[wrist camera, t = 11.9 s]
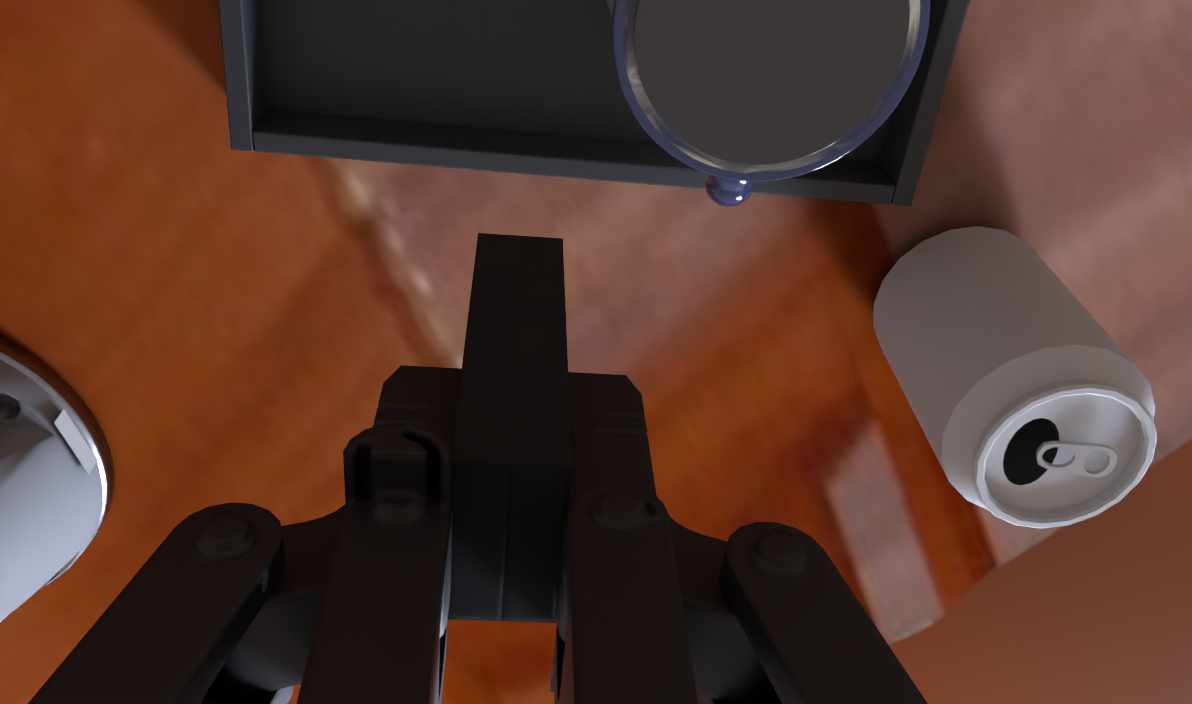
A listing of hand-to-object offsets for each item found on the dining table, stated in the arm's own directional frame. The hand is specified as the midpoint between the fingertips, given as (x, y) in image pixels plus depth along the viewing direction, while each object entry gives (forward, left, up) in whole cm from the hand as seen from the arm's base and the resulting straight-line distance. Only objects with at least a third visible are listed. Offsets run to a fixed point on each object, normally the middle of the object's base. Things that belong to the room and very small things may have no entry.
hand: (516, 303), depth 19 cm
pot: (+2, +2, -17) cm, 17 cm away
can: (+19, -11, -23) cm, 32 cm away
